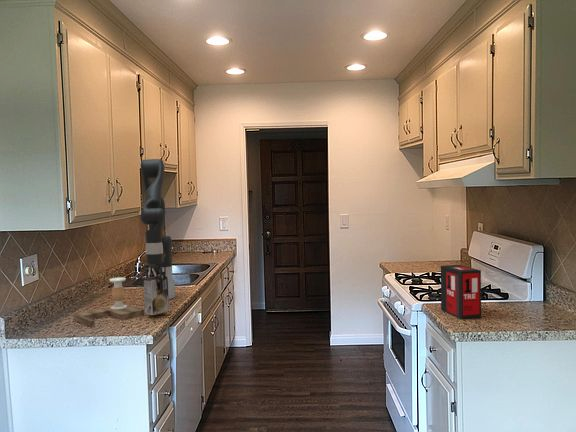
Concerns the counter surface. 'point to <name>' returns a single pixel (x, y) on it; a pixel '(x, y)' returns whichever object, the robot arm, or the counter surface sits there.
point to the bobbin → (118, 293)
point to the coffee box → (155, 296)
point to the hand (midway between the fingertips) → (156, 288)
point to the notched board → (107, 314)
